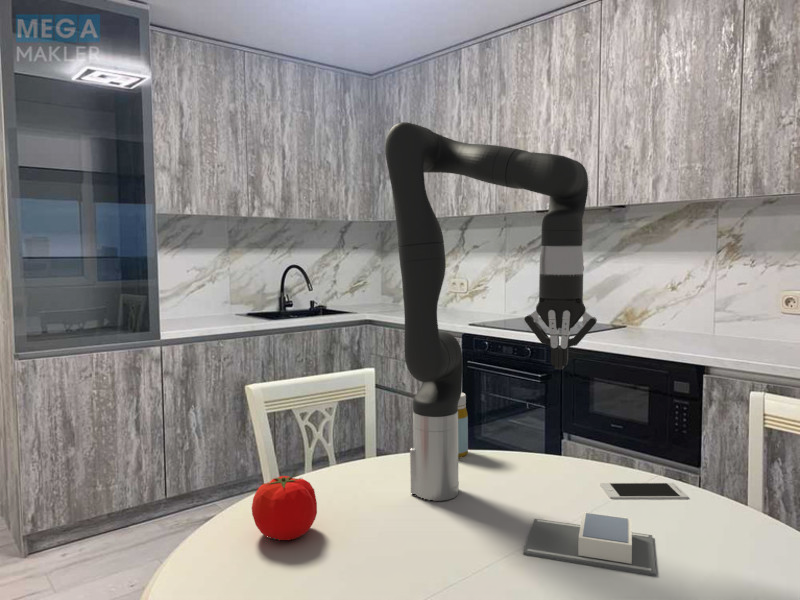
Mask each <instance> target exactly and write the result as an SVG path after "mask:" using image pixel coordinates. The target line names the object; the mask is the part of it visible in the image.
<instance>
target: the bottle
mask: <svg viewBox="0 0 800 600" xmlns="http://www.w3.org/2000/svg"><path fill="white" fill-rule="evenodd" d="M466 400H467V395H466V393H464V392H462V391H461V397H460V399H459V402H458V459H460V458H459V457H461V458H464V457H466V455H468V452H469V439H468V438H469V428H468V427H469V425H468V424H469V423H468V422H469V418H468V417H469V415H468V411H467V410H468V409H467V408H466V407H467V406H466V403H467V401H466Z"/></svg>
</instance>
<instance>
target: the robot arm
mask: <svg viewBox="0 0 800 600" xmlns="http://www.w3.org/2000/svg"><path fill="white" fill-rule="evenodd" d="M384 145H385V146H384V151H385V153H384V154H385V161H386V166H387V170H388V171H387V172H388V175H389V181H390V184H391V185H390V186H391V190H392V197H393V203H394V214H395V222H396V232H397V247H398V257H399V258H398V259H399V267H400V273H401V282H402V283H401V285H402V297H403V309H404V312H403V313H404V338H403V339H404V342H403V343H404V344H403V345H404V348H403V349H404V359H405V361H404V362H405V364H406V367H407V368H406V369H407V370H408V372H409V374H410V375H411V376H412V378H414V379H415V380H417V381H419V382H421V385H420V388H419V390H418V391H417V392H416V394H415V396H413V399H412V427H413V430H412V431H413V434H412V435H413V437H412V438H413V442H412V443H413V447H411V448H410V451H409V457H410V458H409V459H410V463H409V464H410V466H409V467H410V472H409V473H410V494H411V493H412V494H416V495H417V496H416V495H415V496H416V497H418V496H419V497H421V498H420V499H422V498H424V499H423V500H425V499H428V500H427V501H430V500H433V501H432V502H443V501H448V500H451V499H454V498H456V497H457V496H458V495H459V492H460V491H459V485H460V484H459V483H460V481H459V458H458V402H459V399H460V397H461V392H462V389H463V352H462V348H461V345H460V343H459V341H458V340H457V338H456V337H455V336H454V335H453V334H451V333H449V332H446V331H439V324H438V306H439V305H438V303H439V299H440V294H441V292H442V287H443V284H444V280H445V275H446V261H447V260H446V252H445V251H446V249H445V243H444V242H445V241H444V236H443V232H442V227H441V226H440V222H439V221H438V218H437V216H436V213H435V211H434V210H433V208H432V205H431V203H430V201H429V197H428V194H427V193H428V192H427V191H426V185H425V173H428V174H429V173H440V174H441V173H443V174H453V175H458V176H464V177H468V178H471V179H474V180H476V181H481V182H483V183H487V184H492V185H495V186H496V185H497V186H501V187H504V188H505V187H506V188H508V189H509V188H510V189H517V190H525V191H529V192H533V193H537V194H540V195H544V196H548V197H549V203H548V211H547V214H546V215H544V216H543V218H542V222H541V245H540V246H541V249H540V254H539V255H540V256H539V278H538V279H539V280H538V281H539V282H538V283H539V285H538V286H539V288H538V294H539V295H538V303H537V305H536V306H535V310H534V311H533V312H532V313H530V314H527V315H525V317H524V319H523V320H524V322H525V323H526V324H527V326H528V327H529V329H531V331H532V333H533V334H534V335H535V336H536V337H537V339H538V340H539V341H540V343H541V344H543V345H547V346H548V347H549V348H550V363H551V366H554V370H564V368H565V367H566V366H567V365H568V364H569V348H571V347H573V346H574V347H575V346H578V344H579V343H580V342H581V341H582V340H583V339H584V337H585V336H586V335H587V334H588V333H589V332H590V331H591V329H592V328H593V327H594V326H595V325H596V324H597V322H598V319H597V317H594V316H592V315H591V314H590V313H588V312H587V311H586V310H587V309H586V305H585V304H584V298H583V297H584V270H585V265H584V253H583V252H584V251H583V237H584V236H583V235H584V234H583V230H584V229H583V227H584V226H583V219H584V214H585V209H586V204H587V197H588V192H589V177H588V172H587V169H586V167H585V166H584V165H583V164H582V163H581V162H580V161H578V160H576V159H573V158H571V157H567V156H565V155H560V154H553V153H543V152H534V151H533V152H532V151H531V152H530V151H527V150H525V149H520V148H516V147H515V148H513V147H509V146H503V145H496V144H495V145H494V144H483V143H482V144H480V143H475V144H474V143H468V142H462V141H458V140H454V139H451V138H450V137H446V136H443V135H441V134H439V133H436V132H434V131H432V130H431V129H429V128H428V127H425V126H422V125H419V124H415V123H412V122H406V121H403V122H401V121H400V122H398V123H397V124H394V125H393V126H392V127H391V128H390V130H389V132H388V133H387V135H386V139H385V144H384ZM540 318H541V320H542V322H543V323H544V324H545V326H546V327H548V328H549V331H548V332H549V335H548V334H547V333H546V331H545V330H544V329H543V328H542V326H541V325H540V324H539V323H540ZM581 318H582V320H581V324H582V328H580V330H579V331H578V332H577V333H576V334H575V335H574V337H572V338H570V336H571V330H572V329H573V328H574V327H575V325H576V324H578V322H579V321H580V319H581ZM560 329H561V333H560ZM549 336H550V337H549ZM419 497H418V498H419Z"/></svg>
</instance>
